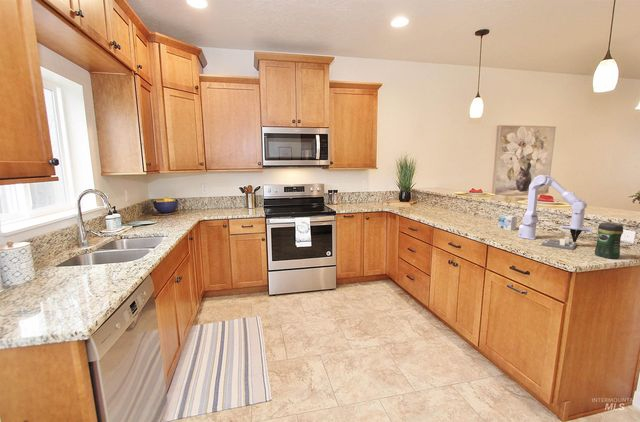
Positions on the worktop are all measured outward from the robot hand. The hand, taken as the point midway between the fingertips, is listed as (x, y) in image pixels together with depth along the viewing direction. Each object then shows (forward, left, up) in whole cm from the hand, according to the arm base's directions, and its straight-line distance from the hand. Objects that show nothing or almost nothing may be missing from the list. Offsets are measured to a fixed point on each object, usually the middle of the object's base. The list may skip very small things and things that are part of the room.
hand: (574, 241), depth 182 cm
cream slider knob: (-4, 0, -1) cm, 4 cm away
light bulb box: (-44, +28, -3) cm, 52 cm away
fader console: (-7, -4, -3) cm, 8 cm away
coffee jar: (+15, -16, -3) cm, 22 cm away
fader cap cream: (-5, -8, -1) cm, 9 cm away
